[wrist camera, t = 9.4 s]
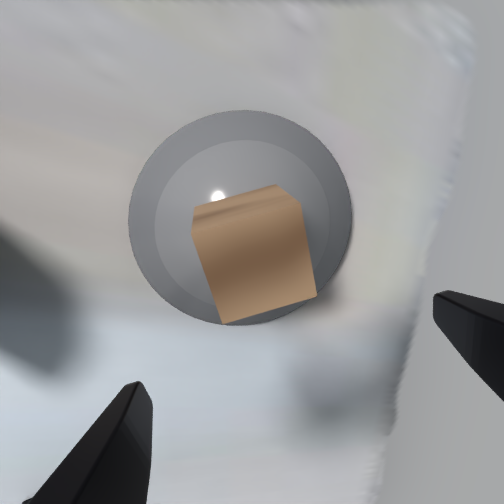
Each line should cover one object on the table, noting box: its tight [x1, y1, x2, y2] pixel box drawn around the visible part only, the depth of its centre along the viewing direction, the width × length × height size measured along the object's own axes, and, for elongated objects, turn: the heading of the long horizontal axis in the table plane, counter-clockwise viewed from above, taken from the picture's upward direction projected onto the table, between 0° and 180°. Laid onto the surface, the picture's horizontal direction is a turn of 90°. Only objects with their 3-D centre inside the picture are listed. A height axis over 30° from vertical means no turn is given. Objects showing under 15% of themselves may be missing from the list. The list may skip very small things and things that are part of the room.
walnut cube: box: [191, 184, 317, 324], centre depth 16 cm, size 5×5×5 cm
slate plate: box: [128, 110, 351, 325], centre depth 19 cm, size 14×14×1 cm
